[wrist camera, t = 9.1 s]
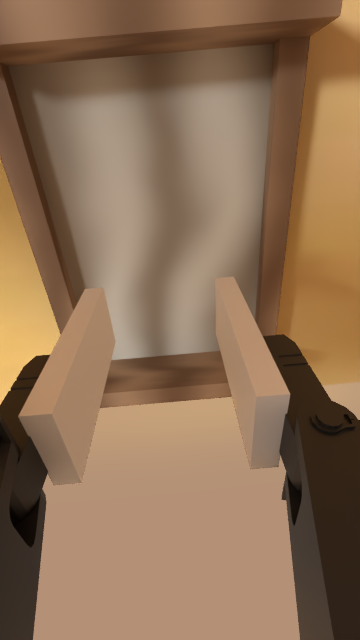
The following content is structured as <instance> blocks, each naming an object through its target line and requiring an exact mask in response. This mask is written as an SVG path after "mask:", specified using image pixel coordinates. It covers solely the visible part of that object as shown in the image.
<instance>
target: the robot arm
mask: <svg viewBox="0 0 360 640" xmlns="http://www.w3.org/2000/svg"><path fill="white" fill-rule="evenodd" d="M215 301H216V336H217V340H218V344H219V348H220V351H221V355H222V359H223V363H224V367H225V371H226V375H227V379H228V383H229V387H230V391H231V395H232V399H233V403H234V407H235V410H236V414H237V418H238V422H239V426H240V430H241V434H242V438H243V442H244V445H245V450H246V454H247V458H248V462H249V466H250V469H258V468H271V467H278V466H279V460H280V455H281V458H282V460H283V463H284V466H285V469H286V476H285V481H284V487H283V492H282V500H286V501H287V511H288V521H289V531H290V541H291V551H292V561H293V572H294V581H295V591H296V602H297V611H298V622H299V632H300V640H360V420H358V419H357V418H356V416H355V415H354V414H353V413H352V412H350V411H349V410H348V409H347V408H346V407H344V406H342V405H340V404H338V403H336V402H333V401H331V399H330V398H329V396H328V394H327V393H326V391H325V390H324V388H323V387H322V385H321V383H320V382H319V380H318V378H317V377H316V375H315V374H314V372H313V370H312V369H311V367H310V366H309V365H308V362H307V361H306V359H305V358H304V356H302V353H301V351H300V350H299V348H298V346H297V345H296V343H295V342H293V341H292V340H290V339H289V338H288V337H286V336H285V335H284V334H283V335H271V336H262V334H261V332H260V330H259V328H258V326H257V324H256V322H255V320H254V318H253V316H252V314H251V311H250V309H249V307H248V305H247V303H246V301H245V299H244V297H243V295H242V293H241V291H240V289H239V287H238V284H237V282H236V280H235V278H234V277H223V278H215ZM115 342H116V341H115V336H114V332H113V328H112V323H111V319H110V314H109V310H108V305H107V301H106V297H105V292H104V288H92V289H85V290H84V292H83V294H82V296H81V298H80V300H79V301H78V303H77V305H76V307H75V309H74V311H73V313H72V315H71V317H70V319H69V320H68V322H67V324H66V326H65V328H64V330H63V332H62V334H61V336H60V338H59V340H58V341H57V343H56V345H55V347H54V349H53V351H52V353H51V355H42V356H36V357H35V358H33V359H32V360H31V361H30V362H29V363H28V364H26V365H25V366H24V367H23V369H22V371H21V372H20V374H19V376H18V377H17V381H15V382H14V384H13V385H12V387H11V391H9V392H8V393H7V395H6V397H5V398H4V400H3V402H2V403H1V405H0V640H33V631H34V621H35V612H36V602H37V591H38V581H39V571H40V561H41V551H42V540H43V531H44V530H43V529H44V520H45V510H46V497H45V493H44V492H43V490H42V488H43V485H44V482H45V479H46V476H47V473H48V475H49V477H50V479H51V481H52V483H53V485H62V484H75V483H82V478H83V474H84V471H85V466H86V462H87V458H88V454H89V450H90V446H91V442H92V437H93V433H94V429H95V425H96V421H97V417H98V413H99V409H100V404H101V400H102V396H103V392H104V388H105V384H106V380H107V376H108V371H109V367H110V363H111V359H112V355H113V351H114V347H115Z"/></svg>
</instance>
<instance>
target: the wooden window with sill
mask: <svg viewBox="0 0 360 640" xmlns="http://www.w3.org/2000/svg"><path fill="white" fill-rule="evenodd" d="M341 6H342V0H0V157H1V160H2V163H3V166H4V169H5V171H6V174H7V177H8V180H9V183H10V186H11V189H12V192H13V195H14V198H15V201H16V204H17V207H18V210H19V213H20V216H21V219H22V222H23V224H24V227H25V230H26V233H27V236H28V239H29V242H30V245H31V248H32V251H33V254H34V257H35V260H36V263H37V266H38V269H39V272H40V275H41V277H42V280H43V283H44V286H45V289H46V292H47V295H48V298H49V301H50V304H51V307H52V310H53V313H54V316H55V319H56V322H57V325H58V328H59V331H60V333H61V334H62V332H63V330H64V328H65V326H66V324H67V322H68V320H69V319H70V317H71V315H72V313H73V311H74V309H75V307H76V305H77V303H78V301H79V300H80V298H81V296H82V294H83V292H84V290H85V289H92V288H104V292H105V297H106V301H107V305H108V310H109V314H110V319H111V323H112V328H113V332H114V336H115V341H116V342H115V347H114V351H113V355H112V359H111V363H110V367H109V371H108V376H107V380H106V384H105V388H104V392H103V396H102V400H101V404H100V408H106V407H118V406H129V405H141V404H152V403H164V402H176V401H187V400H199V399H210V398H222V397H232V395H231V391H230V387H229V383H228V379H227V375H226V371H225V367H224V363H223V359H222V355H221V351H220V348H219V344H218V340H217V336H216V301H215V278H223V277H234V278H235V280H236V282H237V284H238V287H239V289H240V291H241V293H242V295H243V297H244V299H245V301H246V303H247V305H248V307H249V309H250V311H251V314H252V316H253V318H254V320H255V322H256V324H257V326H258V328H259V330H260V332H261V334H262V336H271V335H276V329H277V320H278V311H279V303H280V294H281V285H282V277H283V268H284V259H285V250H286V242H287V233H288V224H289V216H290V207H291V198H292V189H293V181H294V172H295V163H296V155H297V146H298V137H299V128H300V120H301V111H302V102H303V93H304V85H305V76H306V67H307V59H308V50H309V41H310V36H311V35H312V34H314V33H315V32H317V31H318V30H320V29H321V28H323V27H324V26H326V25H327V24H329V23H330V22H332V21H333V20H335V19H336V18H338V17H339V16H340V13H341Z"/></svg>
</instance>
